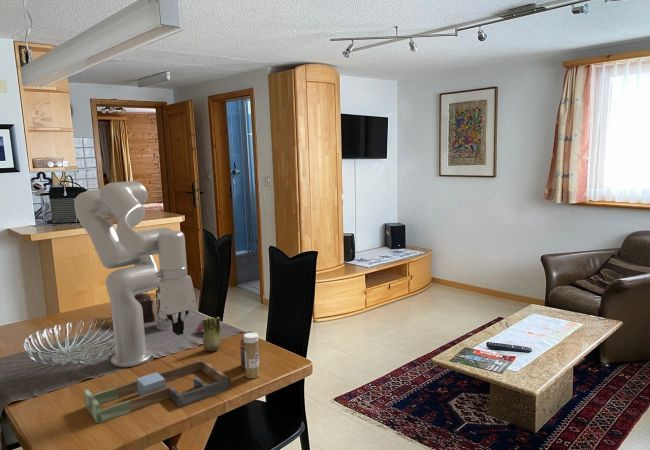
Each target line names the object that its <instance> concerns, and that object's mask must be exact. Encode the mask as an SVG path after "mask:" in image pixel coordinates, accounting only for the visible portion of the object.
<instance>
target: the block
mask: <svg viewBox="0 0 650 450" xmlns="http://www.w3.org/2000/svg"><path fill="white" fill-rule="evenodd" d="M159 373H160V372H157V371H156V372H153V373H149V374H146V375H143V376H140V377H137V378H136V380H137V390H138V391H137V395H138V397H139V396H142V395H145V394H148V393H151V392H154V391H157V390H160V389H163V388H165V387H166V382H165V379H164V378H163V377H162V376H161V375H160V374H159Z"/></svg>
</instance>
